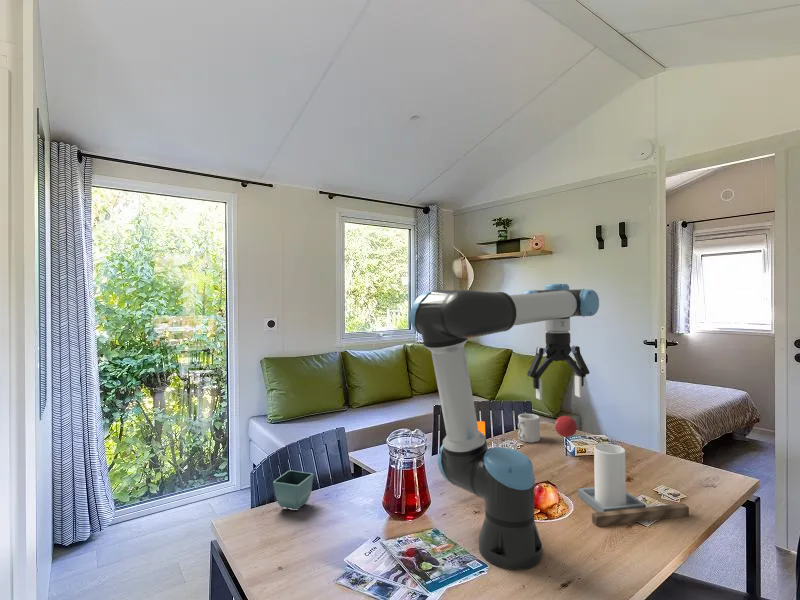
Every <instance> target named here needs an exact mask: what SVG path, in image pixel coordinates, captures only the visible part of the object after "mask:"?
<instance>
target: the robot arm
mask: <svg viewBox="0 0 800 600" xmlns="http://www.w3.org/2000/svg"><path fill="white" fill-rule="evenodd" d="M599 308H600V299H599V294H598V293H597V292H596V291H595V290H593V289H590V288H589V289H585V288H582V289H581V288H580V289H570V286H569V285H568V283H548V284H546V285H544V289H540V290H536V289H531V290H526V291H524V292H523V293H521V294H511V295H510V294H508V293H507V292H505V291H497V292H496V291H493V292H491V291H481V290H471V289H457V290H456V289H455V290H452V289H451V290H448V289H447V290H445V289H443V290H441V289H437V290H436V289H435V290H430V291H425V292H423V293H421V294H419V295H418V296H417V297H416V299H415V300H414V302H413V304H412V306H411V308H410V312H409V315H410V316H409V320H410V324H411V327H412V329H413V330H414V331H416V332H417V333H418V334H419V335H421V337H422V341H423V346H424V348H426V349H427V350H428V351H430V353H431V358H432V359H431V360H432V364H433V369H434V375H435V380H436V385H437V389H438V390H437V391H438V395H439V396H438V397H439V402H440V405H441V412H442V417H443V422H444V428H445V433H446V435H445V437H443V439H442V445H441V446H440V448H439V451H440V453H438V454H437V465H438V469H439V472H440V474H441V475H442V477H443V478H444V479H445V480H446V481H448V482H450V484H451V485H454V486H456V487H457V488H461V489H463V490H465V491H467V492H468V493H470V494H473V495H474V496H477V497H479V498H481V499H483V501H484V509H485V511H484V512H485V514H484V520H483V523H482V526H481V529H480V532H479V534H478V551H479V553H480V555H481V556H482V558H484V560H486V561H487V562H489V563H490V564H492V565H494V566H497V567H499V568H503V569H509V570H526V569H530V568H533V567H535V566H537V565H538V564H540V563H541V561H542V560H543V555H544V552H543V551H544V550H543V542H542V539H541V536H540V533H539V531H538V528H537V525H536V521H535V520H536V519H535V483H536V481H535V480H536V478H535V473H534V465H533V462H532V460H531V459H530V458H529V457H528V456H527V455H526V454H524V453H523V452H521V451H519V450H517V449H514V448H510V447H509V448H506V447H504V446H502V447H500V446H498V447H497V446H496V447H491V448H488V442H487V437H486V434H485V435H484V434H483V433H482V432H480V431H479V430H478V424H477V421H478V418H477V414H476V407H475V401H474V397H473V391H472V385H471V379H470V374H469V373H470V372H469V367H468V362H467V357H466V352H465V345H466V343H467V342H468V341H469V339H471V338H472V339H473V338H477V337H483V336H488V335H492V334H497V333H503V332H507V331H510V330H511V329H512V328H513V327H514V326H520V325H526V324H533V323H539V322H544V321H545V329H544V330H545V331H546V333H545V347H540V346H538V347H536V350H535V355H534V358H533V360H532V362H531V365H530V367H529V369H528V372H527V377H531V378H532V380H533V381H532V382H533V383H532V385H533V389H535V398H536V399H537V400H539V401H541V400H543V379H542V378H541V376H542V375H543V374H544V372H545V371H546V370H547V368H548V367H549V366H550V364H551V363H553V362H558V361H560V362H564V361H565V362H566V363H567V364H568V365H569V367H570V368H571V369H572V370H573V372H574V373H575V374H576V375H574V396H575V397H577V398H582V395H583V394H582V393H583V392H582V391H583V389H582V387H584V379H585V377H586V376H587V375H589V374H590V370H589V368H588V366H587V364H586V362H585V360H584V358H583V355H582V353H581V349H580V348H581V347H580V346H578V345H572V346H571V333H570V332H569V331H571V317H583V318H584V317H593V316H595V314H597V313H598V311H599ZM571 353H572V355H573V356H574V359H575V360H576V361H574V360H573V358H572V357H571V355H570V354H571ZM545 354H546V356H545V357H544V355H545ZM543 357H544V358H543ZM542 359H543V360H542ZM576 362H577V363H576Z"/></svg>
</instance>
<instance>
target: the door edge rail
mask: <svg viewBox="0 0 800 600" xmlns="http://www.w3.org/2000/svg"><path fill="white" fill-rule="evenodd" d="M688 516H690V507H689V506H688V505H687V504H684V503H674V504H664V505H656V506H648V507H647V506H646V507H645V508H636V509H626V510H617V511H608V512H599V513H597V512H592V513H591V523H592V524H594V525H595V526H596V527H601V526H608V525H609V526H611V525H618V524H627V523H636V522H646V521H645V520H647V521H655V520H662V519H671V518H680V517H681V518H682V517H688Z"/></svg>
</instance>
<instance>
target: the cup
mask: <svg viewBox="0 0 800 600" xmlns="http://www.w3.org/2000/svg"><path fill="white" fill-rule="evenodd" d="M593 448H594V449H593V450H594V451H593V461H594V462H593V463H594V470H593V471H594V473H593V474H594V487H595V500H596V501H597V502H599V503H600V504H601V505H603V506H604V507H611V506H621V505H626V492H627V489H626V487H627V485H626V480H627V479H626V475H627V474H626V449H625V448H623V446H620V445H616V444H612V443H598V444H595V445H594V447H593Z"/></svg>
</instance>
